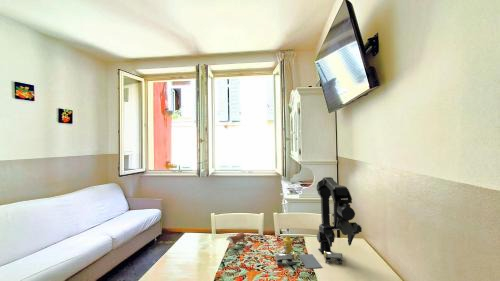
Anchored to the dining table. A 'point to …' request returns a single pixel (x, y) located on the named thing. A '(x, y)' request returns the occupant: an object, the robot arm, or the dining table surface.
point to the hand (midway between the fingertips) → (340, 245)
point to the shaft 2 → (333, 257)
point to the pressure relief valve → (287, 245)
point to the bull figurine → (236, 238)
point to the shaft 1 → (285, 258)
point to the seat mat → (310, 261)
